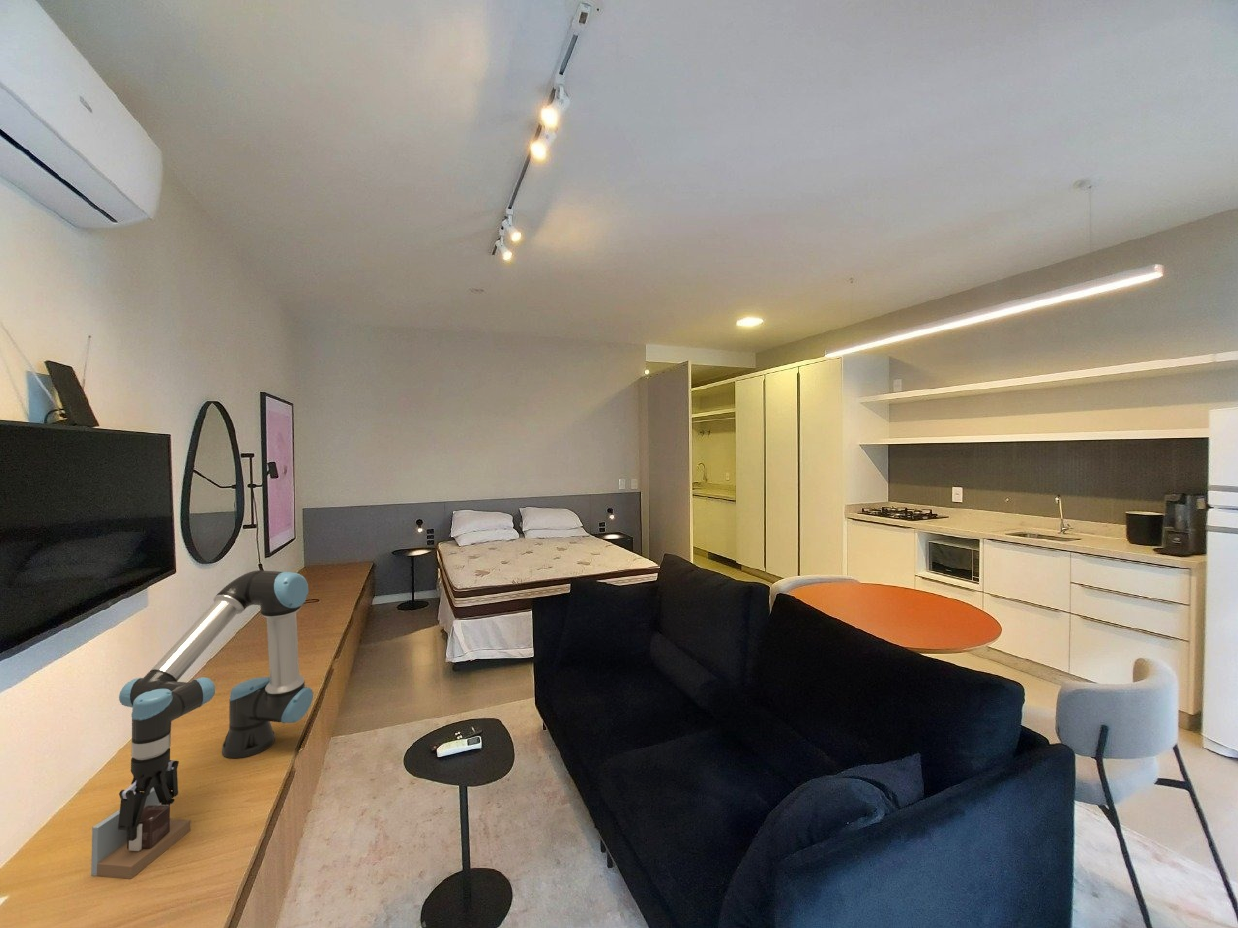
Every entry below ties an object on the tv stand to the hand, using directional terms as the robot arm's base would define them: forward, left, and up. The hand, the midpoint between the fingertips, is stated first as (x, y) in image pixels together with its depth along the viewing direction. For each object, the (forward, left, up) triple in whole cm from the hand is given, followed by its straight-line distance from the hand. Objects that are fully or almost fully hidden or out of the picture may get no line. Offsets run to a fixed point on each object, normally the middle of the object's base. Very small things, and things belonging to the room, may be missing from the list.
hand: (148, 839), depth 131 cm
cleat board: (0, -2, -3) cm, 4 cm away
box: (0, 0, -1) cm, 1 cm away
